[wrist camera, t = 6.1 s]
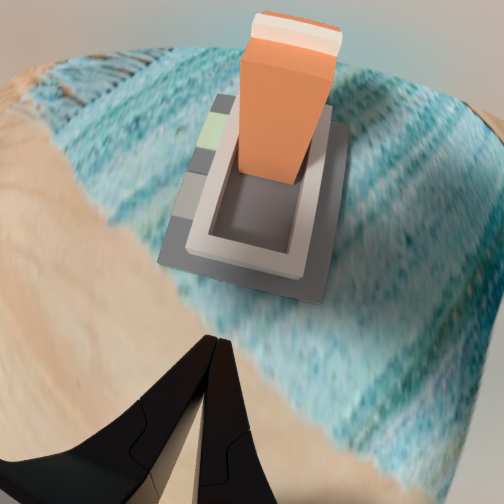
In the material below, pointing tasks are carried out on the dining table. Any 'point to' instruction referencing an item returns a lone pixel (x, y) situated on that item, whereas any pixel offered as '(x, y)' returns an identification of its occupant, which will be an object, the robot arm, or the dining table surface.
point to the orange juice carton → (283, 92)
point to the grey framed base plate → (258, 211)
